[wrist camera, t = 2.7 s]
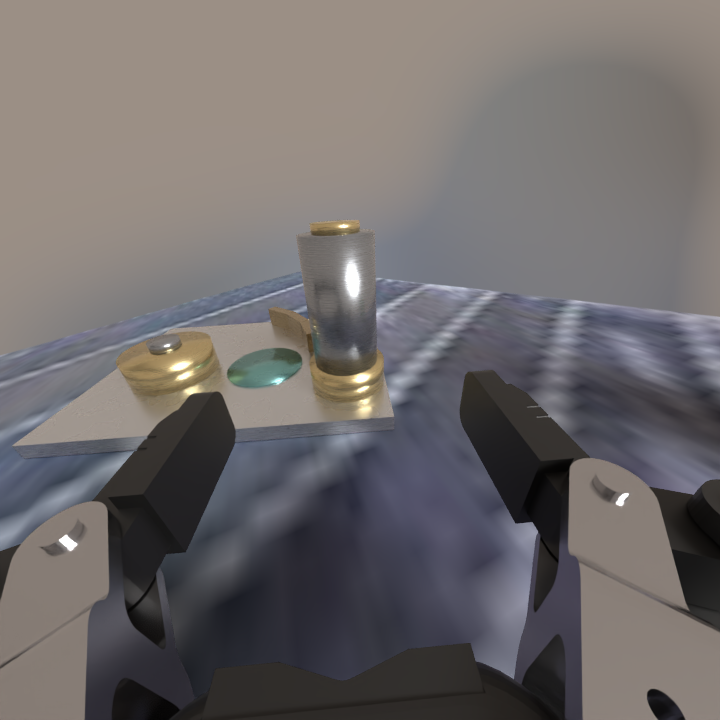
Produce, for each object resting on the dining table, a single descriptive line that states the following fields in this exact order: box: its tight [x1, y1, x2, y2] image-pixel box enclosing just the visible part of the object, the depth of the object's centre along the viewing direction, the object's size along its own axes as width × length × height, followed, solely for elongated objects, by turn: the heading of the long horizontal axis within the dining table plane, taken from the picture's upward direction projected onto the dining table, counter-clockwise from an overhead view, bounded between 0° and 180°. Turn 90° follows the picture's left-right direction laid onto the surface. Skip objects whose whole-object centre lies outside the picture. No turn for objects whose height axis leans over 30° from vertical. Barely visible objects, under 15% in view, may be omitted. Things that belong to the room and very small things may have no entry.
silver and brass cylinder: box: [296, 220, 384, 403], centre depth 19 cm, size 6×6×12 cm
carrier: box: [12, 307, 394, 459], centre depth 26 cm, size 25×19×4 cm
